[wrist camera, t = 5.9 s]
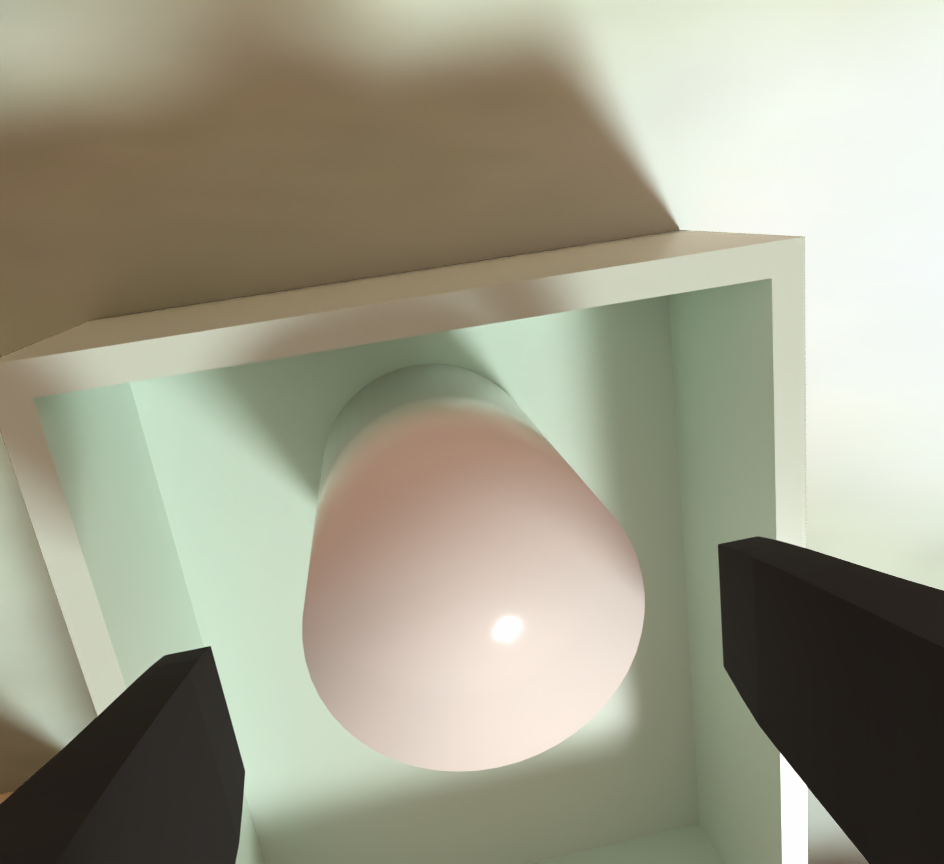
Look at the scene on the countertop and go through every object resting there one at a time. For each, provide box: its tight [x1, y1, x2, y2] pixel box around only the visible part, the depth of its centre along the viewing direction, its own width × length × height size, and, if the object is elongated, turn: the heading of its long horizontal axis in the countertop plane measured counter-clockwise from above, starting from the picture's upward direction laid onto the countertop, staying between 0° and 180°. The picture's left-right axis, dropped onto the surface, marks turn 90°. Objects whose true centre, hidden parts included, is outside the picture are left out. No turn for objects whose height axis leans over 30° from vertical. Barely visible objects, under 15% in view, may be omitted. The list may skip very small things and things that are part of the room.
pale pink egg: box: [302, 364, 645, 772], centre depth 14 cm, size 5×5×7 cm
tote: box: [0, 230, 808, 864], centre depth 17 cm, size 17×13×5 cm
